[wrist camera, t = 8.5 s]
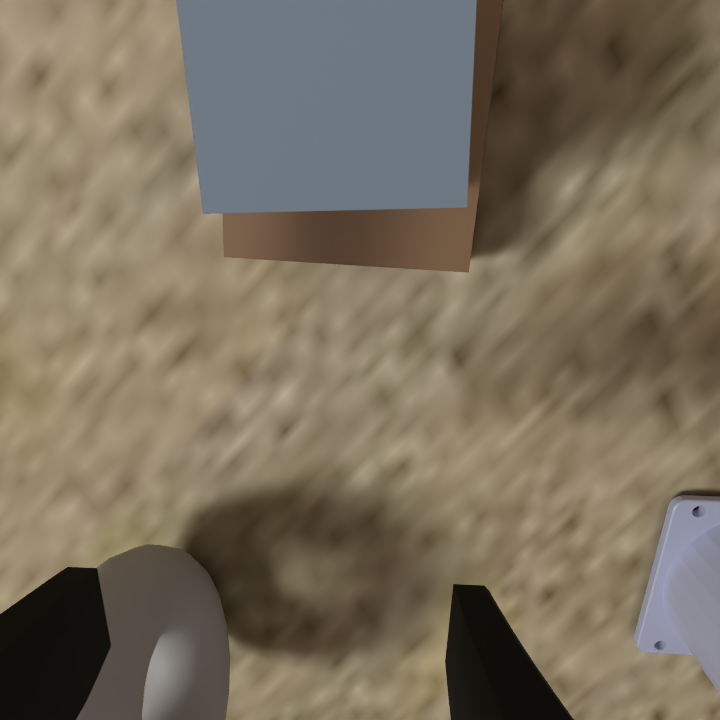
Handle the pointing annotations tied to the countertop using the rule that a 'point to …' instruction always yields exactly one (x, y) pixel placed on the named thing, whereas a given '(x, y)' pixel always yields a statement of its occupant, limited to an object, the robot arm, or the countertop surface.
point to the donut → (161, 640)
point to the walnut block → (385, 226)
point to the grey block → (329, 103)
